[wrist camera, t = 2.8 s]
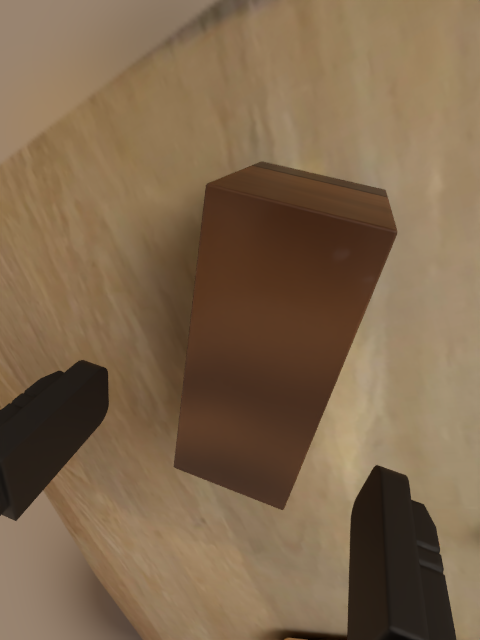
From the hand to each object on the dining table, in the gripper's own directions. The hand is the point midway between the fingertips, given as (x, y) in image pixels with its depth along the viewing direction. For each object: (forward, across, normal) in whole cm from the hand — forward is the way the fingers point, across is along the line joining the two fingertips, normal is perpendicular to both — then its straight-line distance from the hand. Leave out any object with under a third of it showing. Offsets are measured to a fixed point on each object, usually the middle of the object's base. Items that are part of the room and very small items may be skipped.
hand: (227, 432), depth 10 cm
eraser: (+8, 0, 0) cm, 8 cm away
